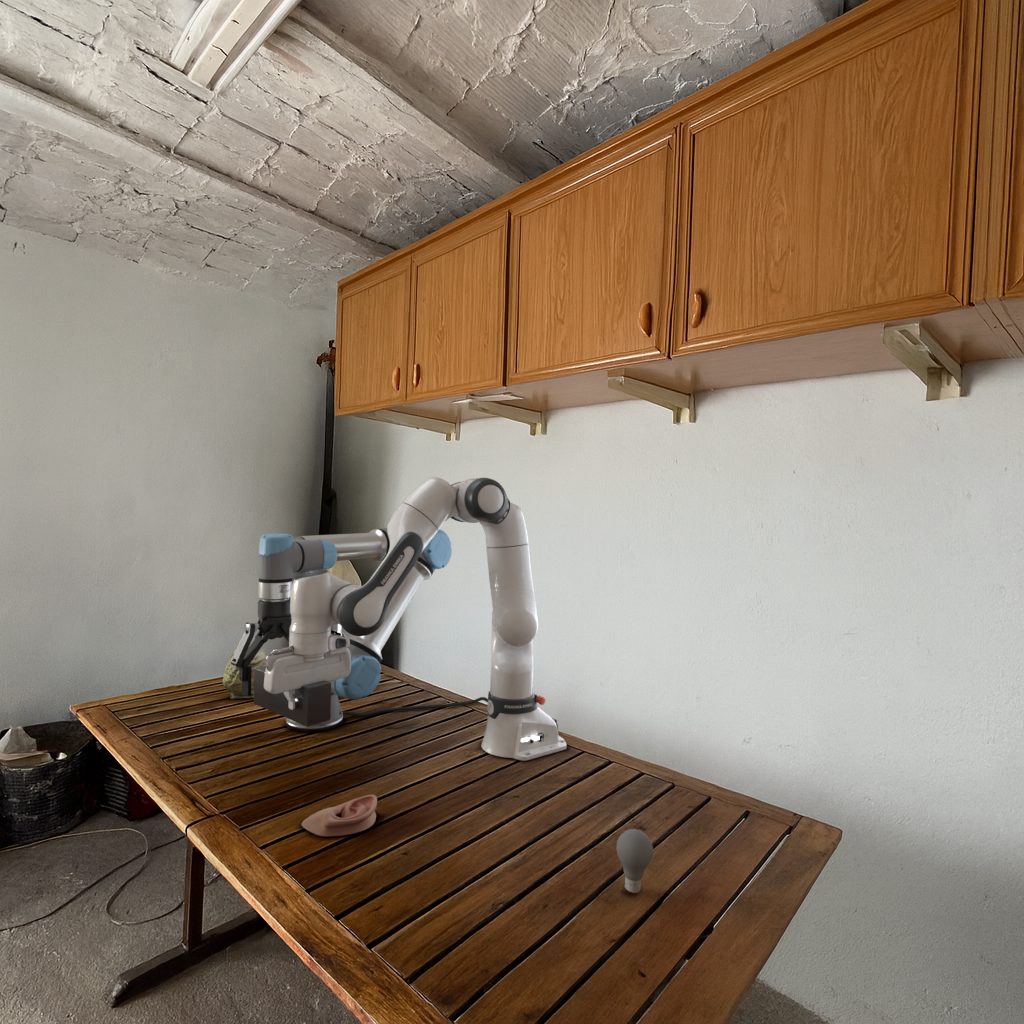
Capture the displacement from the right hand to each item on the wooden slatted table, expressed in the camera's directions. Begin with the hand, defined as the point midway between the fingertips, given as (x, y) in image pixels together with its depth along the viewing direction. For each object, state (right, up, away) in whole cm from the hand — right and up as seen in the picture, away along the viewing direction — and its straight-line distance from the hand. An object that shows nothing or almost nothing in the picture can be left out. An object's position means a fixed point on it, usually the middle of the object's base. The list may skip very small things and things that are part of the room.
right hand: (308, 704), depth 141 cm
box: (-5, -3, +4) cm, 7 cm away
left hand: (-11, +1, +10) cm, 15 cm away
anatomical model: (+12, -18, -18) cm, 28 cm away
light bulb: (+66, -20, -36) cm, 77 cm away
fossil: (-35, -14, +57) cm, 68 cm away
